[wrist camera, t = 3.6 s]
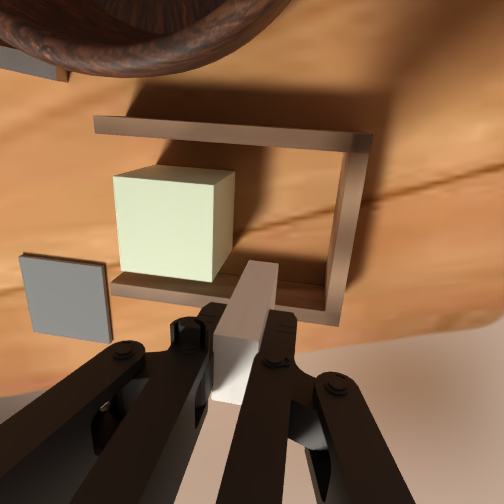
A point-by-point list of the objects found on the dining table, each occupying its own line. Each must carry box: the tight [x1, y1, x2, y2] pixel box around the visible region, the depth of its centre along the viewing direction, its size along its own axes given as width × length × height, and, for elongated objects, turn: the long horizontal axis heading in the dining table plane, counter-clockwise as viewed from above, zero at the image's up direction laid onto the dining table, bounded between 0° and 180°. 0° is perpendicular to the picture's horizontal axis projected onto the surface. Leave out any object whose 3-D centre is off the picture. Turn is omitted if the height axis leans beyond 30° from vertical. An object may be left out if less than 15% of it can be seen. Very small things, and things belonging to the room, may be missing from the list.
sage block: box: [113, 165, 236, 282], centre depth 27 cm, size 7×7×7 cm
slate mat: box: [18, 255, 112, 344], centre depth 36 cm, size 9×9×1 cm
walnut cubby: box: [93, 116, 373, 327], centre depth 28 cm, size 14×19×4 cm
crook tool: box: [0, 46, 68, 83], centre depth 27 cm, size 5×10×2 cm, turn 78°
